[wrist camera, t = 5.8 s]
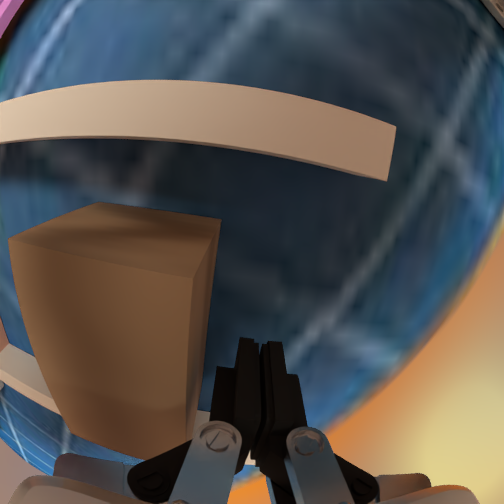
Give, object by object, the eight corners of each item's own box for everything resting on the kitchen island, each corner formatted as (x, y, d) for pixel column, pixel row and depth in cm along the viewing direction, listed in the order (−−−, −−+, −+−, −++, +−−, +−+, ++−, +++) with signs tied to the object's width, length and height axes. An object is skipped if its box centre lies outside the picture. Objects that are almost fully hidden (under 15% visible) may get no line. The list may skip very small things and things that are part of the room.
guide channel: (363, 132, 10) (429, 121, 6) (271, 433, 17) (275, 489, 12) (-30, 123, 9) (-77, 128, 4) (-3, 348, 15) (-30, 378, 11)
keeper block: (221, 219, 11) (193, 278, 6) (201, 385, 15) (186, 469, 9) (98, 201, 11) (7, 238, 5) (110, 362, 14) (71, 433, 9)
